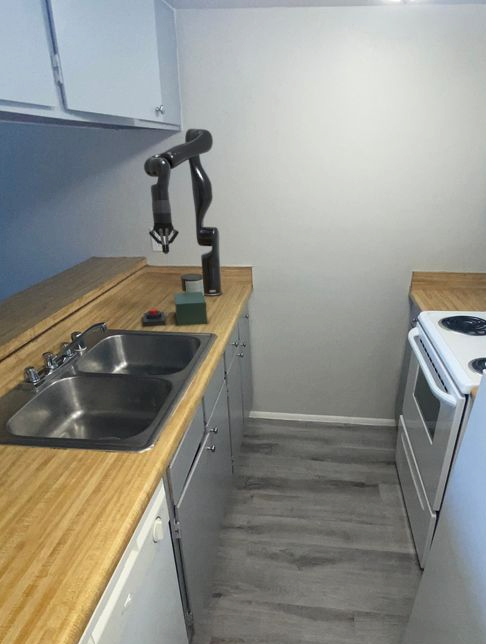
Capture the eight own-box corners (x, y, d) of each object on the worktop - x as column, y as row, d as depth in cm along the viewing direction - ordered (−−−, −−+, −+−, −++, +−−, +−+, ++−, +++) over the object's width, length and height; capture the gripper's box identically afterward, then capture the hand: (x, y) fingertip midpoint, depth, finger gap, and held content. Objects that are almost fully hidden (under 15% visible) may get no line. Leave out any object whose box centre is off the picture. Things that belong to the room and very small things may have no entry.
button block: (144, 317, 212) (143, 309, 210) (164, 316, 214) (163, 307, 212) (144, 326, 201) (142, 317, 200) (165, 325, 203) (164, 316, 201)
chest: (176, 314, 216) (174, 295, 212) (203, 312, 219) (202, 293, 215) (177, 325, 203) (176, 305, 199) (207, 323, 206) (205, 304, 201)
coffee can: (179, 306, 227) (176, 277, 220) (192, 300, 235) (190, 272, 228) (195, 309, 222) (193, 280, 216) (209, 304, 230) (207, 275, 224)
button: (149, 312, 207) (148, 308, 206) (157, 312, 208) (157, 308, 207) (149, 315, 204) (148, 311, 203) (157, 314, 205) (157, 310, 204)
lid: (174, 295, 213) (173, 293, 212) (202, 293, 215) (202, 291, 215) (176, 305, 199) (175, 303, 198) (205, 303, 201) (205, 302, 201)
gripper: (177, 209, 201) (180, 251, 210) (145, 210, 199) (150, 252, 207) (178, 211, 195) (181, 254, 203) (145, 212, 192) (150, 255, 200)
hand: (166, 253), depth 205 cm, fingers closed
